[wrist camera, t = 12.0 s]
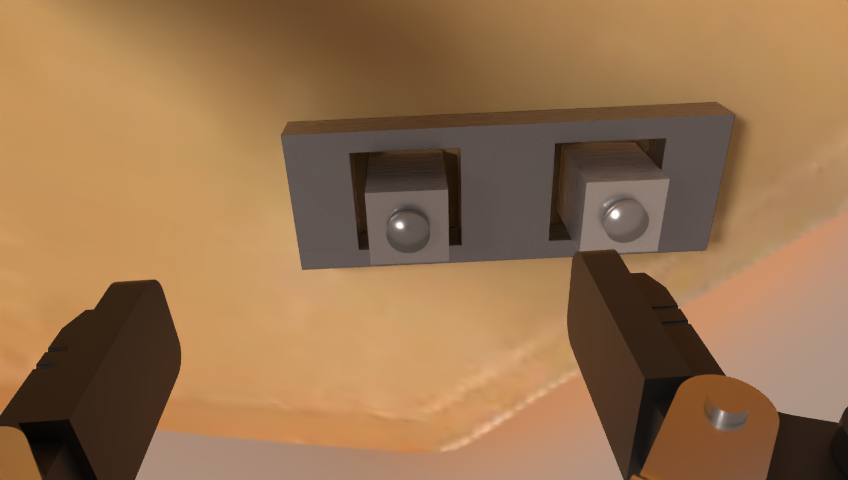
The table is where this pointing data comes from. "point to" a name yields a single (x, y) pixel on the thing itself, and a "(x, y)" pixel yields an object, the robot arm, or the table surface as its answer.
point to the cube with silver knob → (611, 197)
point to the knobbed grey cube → (407, 207)
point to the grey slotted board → (502, 176)
